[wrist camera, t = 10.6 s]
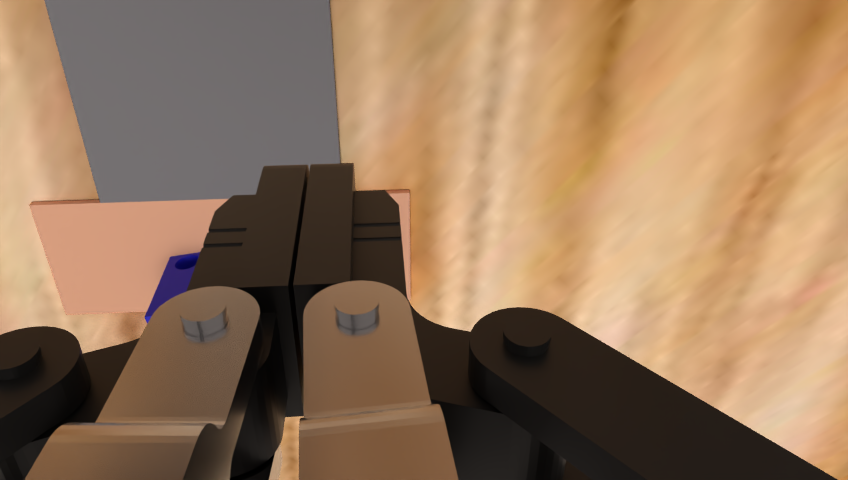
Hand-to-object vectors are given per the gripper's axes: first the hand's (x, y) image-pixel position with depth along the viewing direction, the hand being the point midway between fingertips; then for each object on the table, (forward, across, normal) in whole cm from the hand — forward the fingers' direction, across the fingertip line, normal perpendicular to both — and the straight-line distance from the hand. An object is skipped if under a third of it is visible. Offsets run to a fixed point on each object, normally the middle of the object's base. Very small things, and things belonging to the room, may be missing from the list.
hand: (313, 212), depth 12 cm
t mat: (+27, +8, +12) cm, 31 cm away
